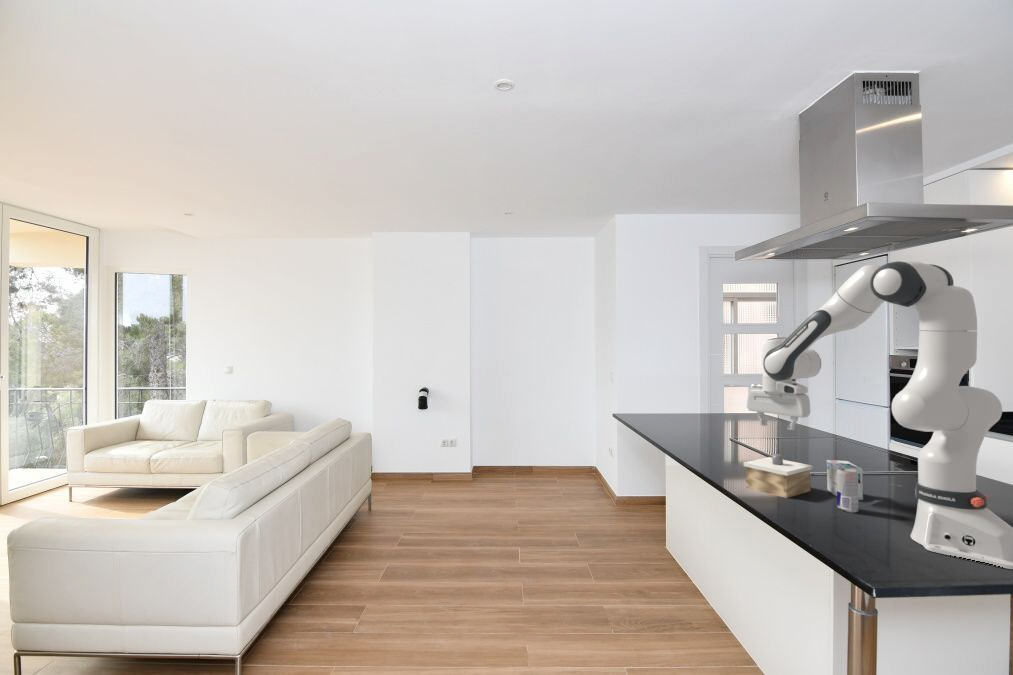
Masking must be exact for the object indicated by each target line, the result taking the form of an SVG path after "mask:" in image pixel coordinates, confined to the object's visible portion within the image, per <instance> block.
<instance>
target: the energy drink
mask: <svg viewBox="0 0 1013 675" xmlns="http://www.w3.org/2000/svg"><path fill="white" fill-rule="evenodd" d="M836 507H837V508H838V509H842V512H844V513H849V514H850V513H851V514H856V513H858V512H859V500H858V472H857V470H855V469H850V468H838V470H837V496H836Z"/></svg>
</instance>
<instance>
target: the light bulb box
mask: <svg viewBox="0 0 1013 675" xmlns="http://www.w3.org/2000/svg"><path fill="white" fill-rule="evenodd" d="M838 468H850V469H855V470H857V472H858V501H863V500H864V493H863V492H864V491H863V489H864V488H863V481H864V480H863V468H862V467H860V466H857V465H856V464H853V463H852V462H850V461H848V460H836V459H835V460H834V459H833V460H831V459H827V460H826V477H827V480H826V481H827V482H826V483H827V485H826V487H827V488H826V489H827V490H828V492H830V493H832V495H834V496H835V497H837V470H838Z"/></svg>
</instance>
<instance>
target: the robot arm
mask: <svg viewBox="0 0 1013 675" xmlns="http://www.w3.org/2000/svg"><path fill="white" fill-rule="evenodd" d="M885 302H886V303H889V304H893V305H897V306H898V305H899V306H901V307H906V308H910V307H913V308H915V310H916V311H917V313H918V316H919V325H918V328H919V329H918V349H917V360H916V364H915V367H914V370H913V373H912V375H911V377H910V379H909V380H908V382H907V384H906V385H905V386H904V387H903V389H902V390H900V391H898V393H896V394H895V396H894V397H893V398H892V401H891V414H892V416H893V418H894V420H895V421H896V422H897V423H898V424H899V425H900V426H902V428H906V429H909V430H915V431H919V432H932V435H931V438H930V439H929V441H928V442H927V443H926V444H925V445H924V446H922V448H921V449H920V450H919V451H918V454H917V470H918V471H917V476H918V477H917V482H916V483H915V491H914V492H915V502H916V504H917V506H916V514H915V520H914V525H913V528H912V530H911V533H910V538H911V539H912V540H913V541H915V542H916V543H918V544H919V545H922V546H923V547H924V549H925V550H927V551H930V552H933V553H937V554H941V555H947V556H950V555H951V557H954V556H956V557H955V558H959V557H962V558H961V559H963V558H966V559H965V560H967V559H971V560H970V561H972V560H975V561H974V562H976V561H980V562H985V563H989V564H993V565H992V566H994V565H996V566H995V567H998V566H1000V567H999V568H1002V567H1003V568H1004V569H1007V570H1013V526H1011V525H1010V524H1009V523H1007V521H1004V520H1003V519H1002V518H1000V517H999V516H998V515H997V514H995V513H994V512H993V511H991V510H990V509H989V508H988V500H989V494H985V495H984V494H983V493H982V492H981V491H979V490H978V489H977V461H978V455H979V452H980V449H981V446H982V444H983V441H984V438H986V437H985V436H986V435H987V434H988V432H989V431H990V429H991V428H992V427H993V426H994V425H995V424H996V423H998V422H999V421H1000V420H1001V417H1002V414H1003V407H1002V403H1001V401H1000V399H999V398H998V397H997V395H996V394H995V393H993V392H992V391H989V390H987V389H983V388H980V387H975V386H968V385H960V383H961V382H962V379H963V377H964V376H965V374H966V373H967V372H968V371H969V370H971V368H973V367H974V366H975V365H976V363H977V354H978V353H977V352H978V317H977V309H976V304H975V300H974V296H973V294H972V292H971V291H969V290H968V289H966V288H964V287H961V286H956V285H954V278H953V276H952V274H951V273H950V272H949V271H948V270H947V269H945V267H942V266H940V265H936V264H930V263H929V264H927V263H923V262H920V261H899V260H897V261H893V262H887V263H885V264H883V265H877V264H867V265H863V266H861V267H860V268H859V269H858V270H857V271H855V272H854V273H853V274H852V275H850V276H849V277H848V279H846V280H845V281H844V283H842V285H840V287H839V288H837V290H836V291H835V293H833V295H832V296H831V297H830V298H829V299H828V300H827V301H826V302H824V304H823V305H822V306H821V307H819V308H818V309H817V310H816V311H814V312H813V313H812V314H811V315H809V316H808V317H806V319H805V320H804V321H803V322H801V324H800V325H798V327H796V329H794V331H793V332H792V333H791V334H790V335H789V336H788V337H773V338H770V339H767V340H766V341H765V342H764V344H763V347H762V348H763V349H762V360H761V361H762V362H761V363H762V364H761V365H762V367H763V373H762V377H761V378H762V382H761V383H762V384H756V383H755V384H751V385H749V387H748V389H747V393H748V394H747V400H746V408H747V410H748V411H751V412H756V416H757V417H758V419H759V423H760V424H759V425H760V426H761V427H762V426H764V427H766V426H767V425H768V420H767V419H765V417H764V415H765V414H772V415H779V416H787V417H790V420H791V421H790V423H788V424H787V425H786V426H787V427H786V428H787V430H790V431H794V430H795V429H796V428H795V426H796V424H797V423H798V421H799V418H808V417H809V416H810V414H811V403H810V397H809V395H807V393H808V392H809V388H808V387H807V386H805V385H803V384H800V383H798V382H795V381H793V380H797V379H798V380H801V379H809V378H814V377H815V376H817V375H818V374H819V372H820V370H821V369H822V360H821V359H822V358H821V356H820V354H819V353H818V352H817V351H815V350H813V349H811V348H810V347H812V346H813V345H814V344H815V343H816V342H817V341H819V340H820V339H822V338H824V337H826V336H829V335H833V334H836V333H839V332H844V331H845V332H846V331H849V330H852V329H853V330H854V329H855V328H858V327H859V326H861V325H862V324H863V323H865V322H866V321H867V320H868V319H869V318H870V317H871V316H872V315H873V314H874V313H875V312H876V311H877V310H878V308H879V307H881V305H882V304H883V303H885ZM980 562H979V563H980ZM985 563H984V564H985ZM989 564H988V565H989Z"/></svg>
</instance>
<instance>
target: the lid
mask: <svg viewBox="0 0 1013 675" xmlns="http://www.w3.org/2000/svg"><path fill="white" fill-rule="evenodd" d="M743 467H745V468H746V467H750V468H755V469H759V470H764V471H768V472H773V473H777V474H782V475H786V476H788V475H792V474H796V473H800V472H804V471H808V470H810V471H811V470H813V469H814V468H813V467H814V466H813V465H811V464H806V463H801V462H796V461H790V460H785V459H784V455H783V454H780V453H773V454H772V455H771V457H770V456H768V457H763V458H758V459H754V460H748V461H745V462H744V461H743Z"/></svg>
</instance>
